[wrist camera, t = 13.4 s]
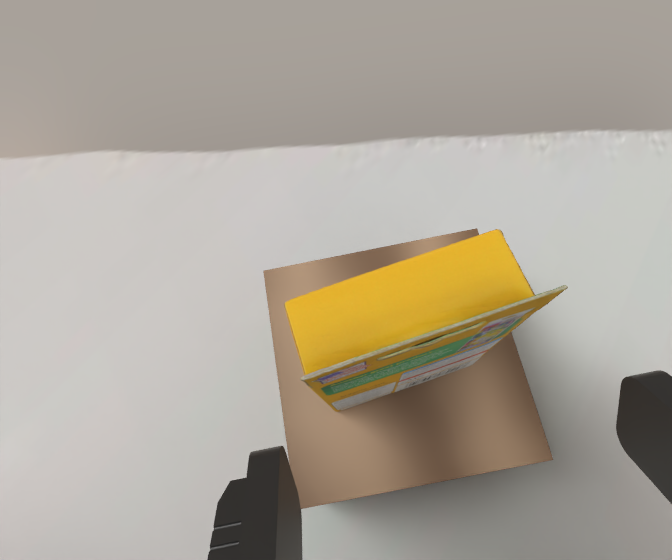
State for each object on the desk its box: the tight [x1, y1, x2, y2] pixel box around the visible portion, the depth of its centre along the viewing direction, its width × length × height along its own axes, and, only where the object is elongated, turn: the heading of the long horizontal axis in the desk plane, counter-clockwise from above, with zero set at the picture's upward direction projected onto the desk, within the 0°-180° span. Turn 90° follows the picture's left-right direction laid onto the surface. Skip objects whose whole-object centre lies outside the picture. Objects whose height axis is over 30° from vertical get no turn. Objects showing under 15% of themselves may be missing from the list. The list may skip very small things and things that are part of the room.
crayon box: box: [284, 229, 568, 412], centre depth 17 cm, size 7×3×12 cm, turn 108°
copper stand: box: [264, 229, 553, 509], centre depth 25 cm, size 12×12×6 cm
